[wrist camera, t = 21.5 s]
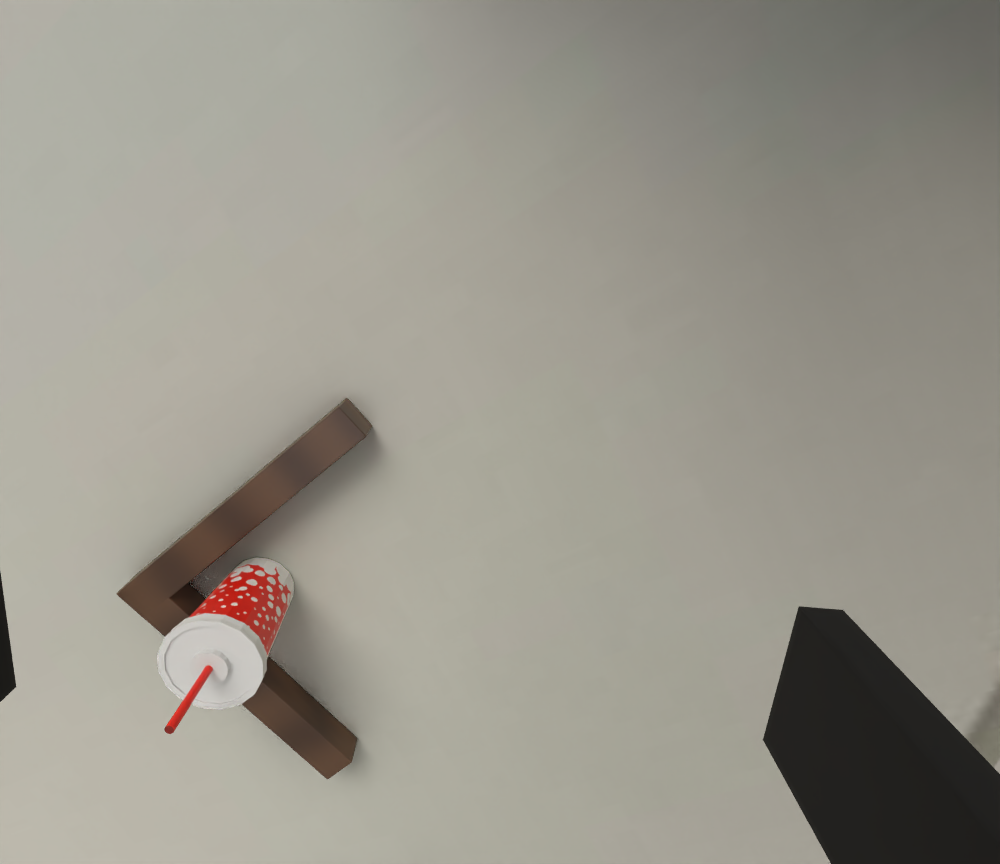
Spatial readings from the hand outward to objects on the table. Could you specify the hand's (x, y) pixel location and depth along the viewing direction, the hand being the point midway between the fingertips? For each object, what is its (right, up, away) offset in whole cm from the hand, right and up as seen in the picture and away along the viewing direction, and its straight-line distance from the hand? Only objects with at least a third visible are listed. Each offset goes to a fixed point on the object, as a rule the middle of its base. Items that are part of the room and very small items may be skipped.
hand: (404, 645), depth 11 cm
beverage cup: (-15, -7, +35) cm, 39 cm away
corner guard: (-16, -7, +35) cm, 39 cm away
